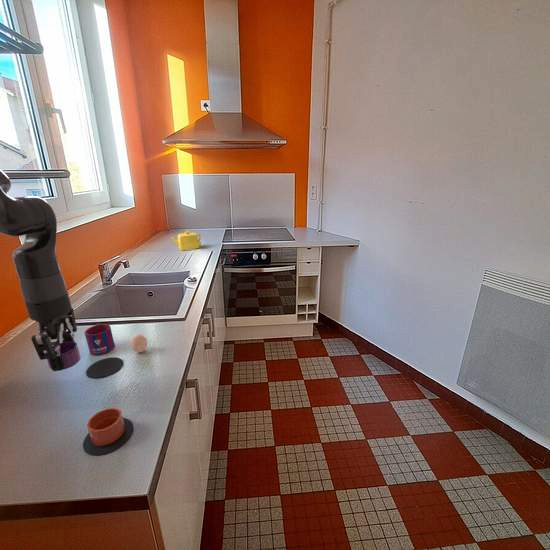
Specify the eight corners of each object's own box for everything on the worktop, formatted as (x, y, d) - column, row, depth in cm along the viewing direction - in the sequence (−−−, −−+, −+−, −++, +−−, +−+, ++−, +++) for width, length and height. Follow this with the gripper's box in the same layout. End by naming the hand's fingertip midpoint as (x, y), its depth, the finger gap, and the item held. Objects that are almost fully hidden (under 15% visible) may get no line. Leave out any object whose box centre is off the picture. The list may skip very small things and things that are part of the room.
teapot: (174, 252, 202) (171, 234, 198) (171, 248, 212) (169, 231, 209) (203, 248, 210) (201, 231, 206) (200, 244, 220) (198, 228, 216)
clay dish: (87, 450, 57) (82, 434, 56) (97, 425, 63) (93, 410, 62) (121, 444, 59) (116, 428, 57) (128, 420, 64) (124, 405, 63)
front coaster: (75, 460, 56) (75, 459, 56) (92, 422, 64) (92, 421, 64) (127, 450, 58) (127, 449, 57) (137, 415, 66) (137, 414, 66)
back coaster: (80, 380, 77) (80, 379, 77) (93, 360, 86) (92, 359, 86) (118, 375, 79) (118, 374, 79) (126, 356, 88) (126, 355, 87)
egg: (134, 357, 87) (130, 340, 85) (130, 350, 90) (127, 334, 88) (150, 352, 89) (147, 335, 87) (146, 345, 92) (143, 329, 91)
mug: (87, 357, 87) (82, 337, 85) (93, 340, 96) (88, 321, 94) (113, 352, 90) (108, 332, 87) (117, 336, 98) (112, 317, 96)
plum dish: (44, 373, 66) (39, 357, 65) (57, 357, 72) (53, 343, 70) (74, 369, 67) (70, 354, 66) (85, 354, 73) (81, 339, 72)
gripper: (43, 283, 70) (61, 346, 75) (4, 310, 57) (29, 383, 62) (78, 281, 71) (94, 342, 77) (49, 306, 58) (70, 378, 63)
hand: (65, 360), depth 69 cm, fingers closed on plum dish, 6 cm apart
